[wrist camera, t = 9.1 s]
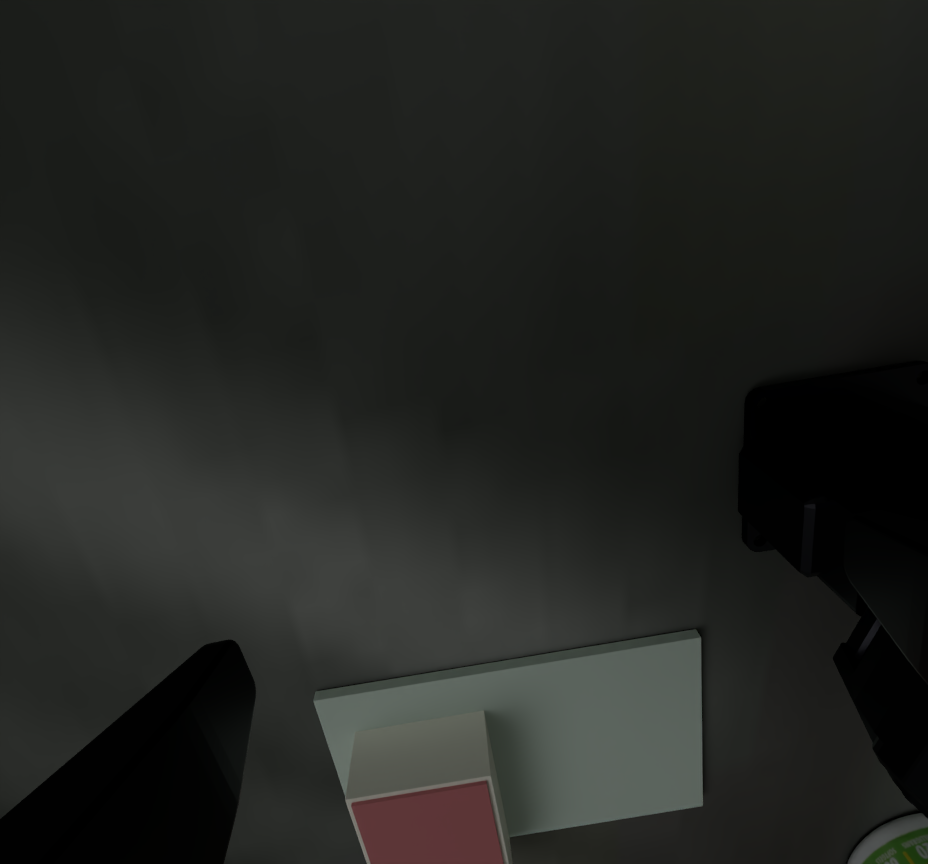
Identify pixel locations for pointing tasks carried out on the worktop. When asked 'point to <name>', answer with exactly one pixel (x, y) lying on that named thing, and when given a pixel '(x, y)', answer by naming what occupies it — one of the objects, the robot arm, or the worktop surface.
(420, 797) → the card deck
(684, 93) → the worktop surface
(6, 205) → the worktop surface
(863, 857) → the supplement bottle
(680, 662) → the mat
